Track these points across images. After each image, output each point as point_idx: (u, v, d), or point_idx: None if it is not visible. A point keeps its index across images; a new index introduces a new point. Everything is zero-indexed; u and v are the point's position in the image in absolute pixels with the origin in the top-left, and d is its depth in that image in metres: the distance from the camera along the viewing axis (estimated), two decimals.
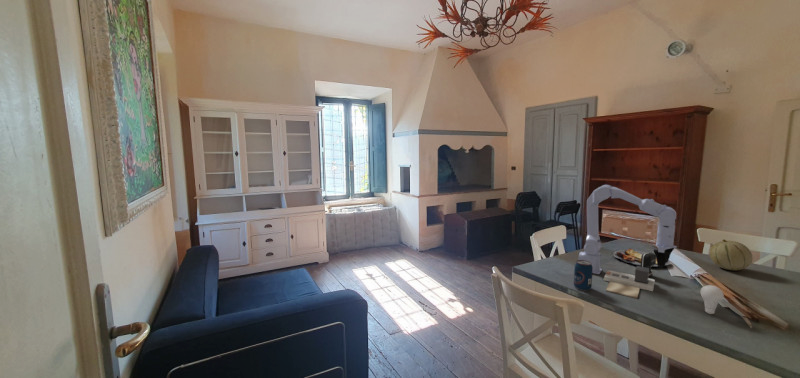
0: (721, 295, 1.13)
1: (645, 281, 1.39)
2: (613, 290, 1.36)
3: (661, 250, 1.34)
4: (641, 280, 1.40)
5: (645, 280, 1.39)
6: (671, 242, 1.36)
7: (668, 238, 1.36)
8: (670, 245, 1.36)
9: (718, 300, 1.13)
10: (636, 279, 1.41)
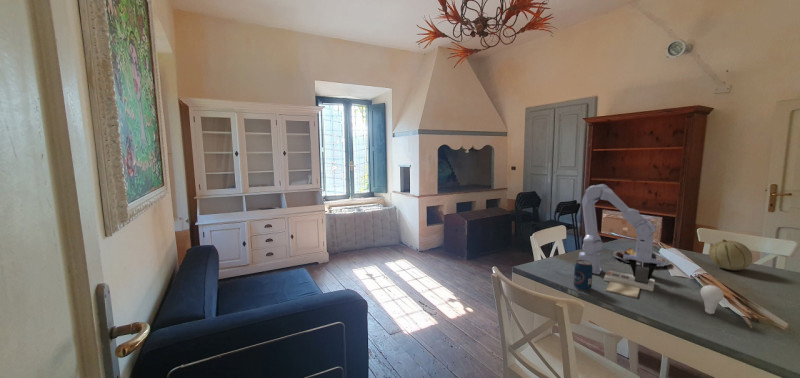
0: (721, 295, 1.13)
1: (645, 281, 1.39)
2: (613, 290, 1.36)
3: (623, 256, 1.46)
4: (641, 280, 1.40)
5: (645, 280, 1.39)
6: (639, 255, 1.40)
7: (636, 250, 1.41)
8: (637, 257, 1.40)
9: (718, 300, 1.13)
10: (636, 279, 1.41)
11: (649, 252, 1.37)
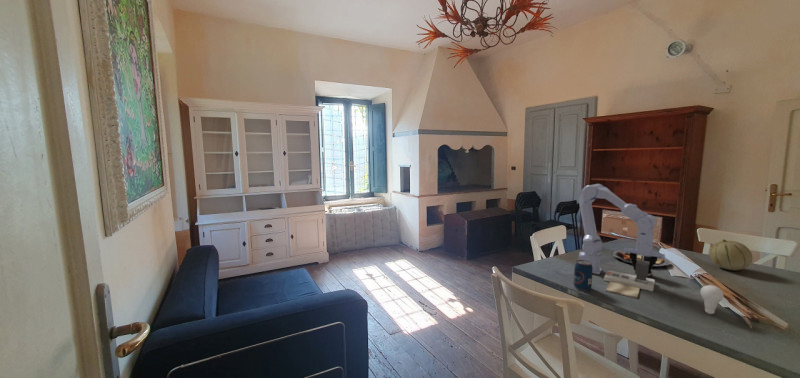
0: (721, 295, 1.13)
1: (645, 274, 1.38)
2: (613, 290, 1.36)
3: None
4: (641, 273, 1.39)
5: (645, 273, 1.38)
6: (639, 248, 1.39)
7: (637, 243, 1.40)
8: (638, 251, 1.40)
9: (718, 300, 1.13)
10: (636, 272, 1.40)
11: (650, 245, 1.37)
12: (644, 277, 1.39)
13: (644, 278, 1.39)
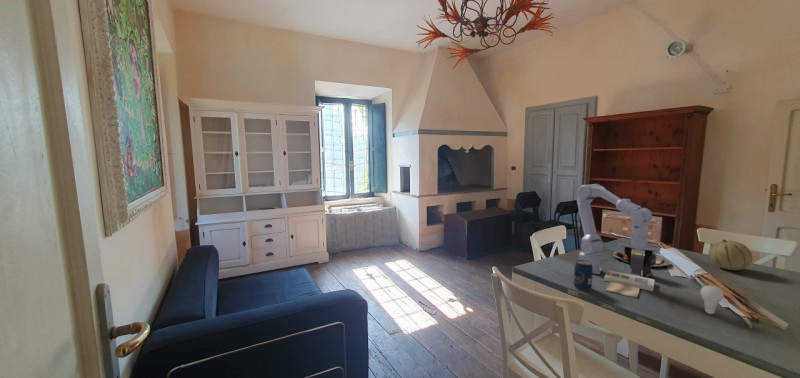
0: (721, 295, 1.13)
1: (640, 268, 1.36)
2: (613, 290, 1.36)
3: None
4: (636, 268, 1.37)
5: (640, 267, 1.36)
6: (634, 242, 1.37)
7: (632, 237, 1.38)
8: (633, 244, 1.38)
9: (718, 300, 1.13)
10: (631, 267, 1.38)
11: (644, 239, 1.35)
12: (639, 271, 1.37)
13: (639, 272, 1.37)
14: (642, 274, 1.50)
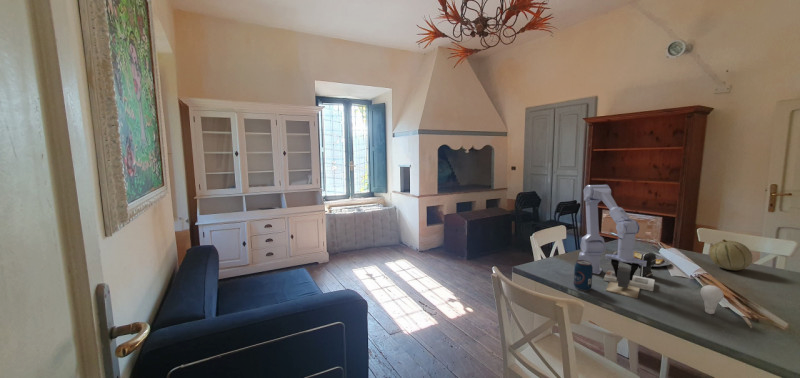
0: (721, 295, 1.13)
1: (627, 282, 1.34)
2: (613, 290, 1.36)
3: None
4: (623, 281, 1.35)
5: (627, 281, 1.34)
6: (620, 254, 1.34)
7: (618, 249, 1.36)
8: (619, 257, 1.35)
9: (718, 300, 1.13)
10: (618, 280, 1.36)
11: (631, 252, 1.32)
12: (626, 284, 1.35)
13: (626, 285, 1.35)
14: (642, 274, 1.50)
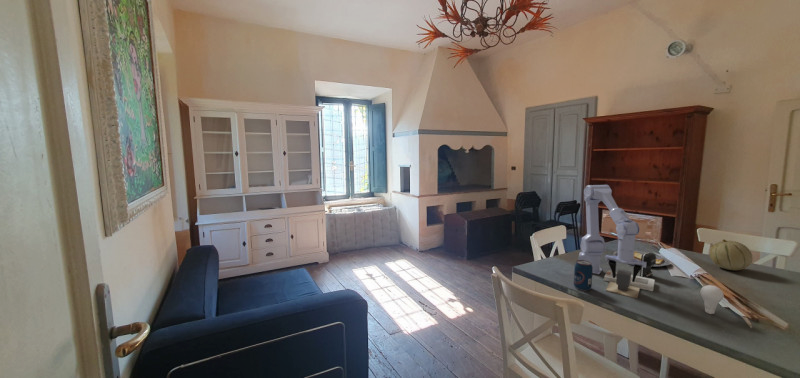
0: (721, 295, 1.13)
1: (626, 285, 1.34)
2: (613, 290, 1.36)
3: None
4: (623, 284, 1.35)
5: (627, 284, 1.34)
6: (620, 255, 1.35)
7: (618, 250, 1.36)
8: (619, 258, 1.35)
9: (718, 300, 1.13)
10: (618, 283, 1.36)
11: (631, 253, 1.32)
12: (625, 287, 1.35)
13: (625, 288, 1.35)
14: (642, 274, 1.50)
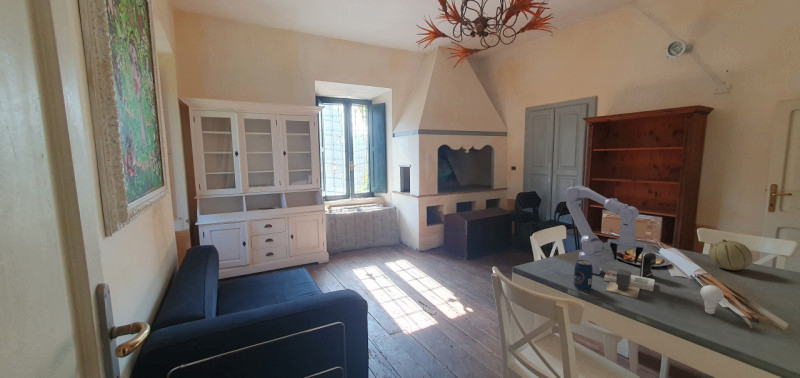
0: (721, 295, 1.13)
1: (626, 285, 1.34)
2: (613, 290, 1.36)
3: (608, 241, 1.50)
4: (623, 284, 1.35)
5: (627, 284, 1.34)
6: (622, 239, 1.44)
7: (620, 234, 1.45)
8: (621, 241, 1.44)
9: (718, 300, 1.13)
10: (618, 283, 1.36)
11: (632, 236, 1.42)
12: (625, 287, 1.35)
13: (625, 288, 1.35)
14: (642, 274, 1.50)
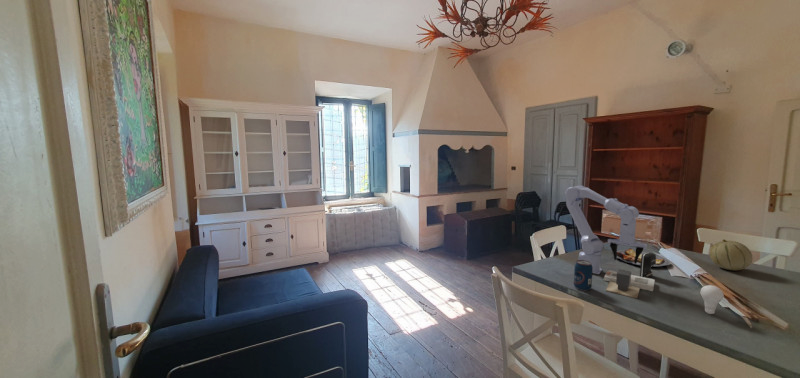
0: (721, 295, 1.13)
1: (626, 285, 1.34)
2: (613, 290, 1.36)
3: (608, 241, 1.50)
4: (623, 284, 1.35)
5: (627, 284, 1.34)
6: (622, 239, 1.44)
7: (620, 234, 1.45)
8: (621, 241, 1.44)
9: (718, 300, 1.13)
10: (618, 283, 1.36)
11: (632, 236, 1.42)
12: (625, 287, 1.35)
13: (625, 288, 1.35)
14: (642, 274, 1.50)
